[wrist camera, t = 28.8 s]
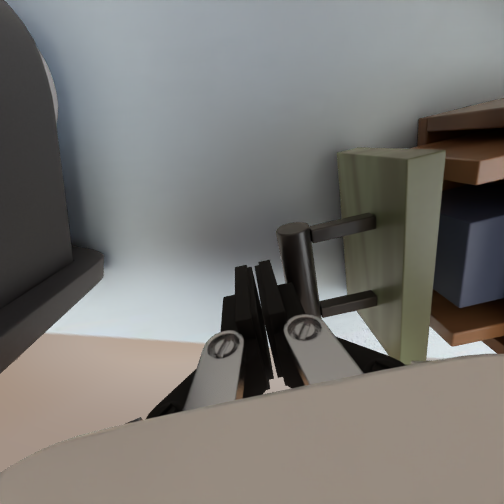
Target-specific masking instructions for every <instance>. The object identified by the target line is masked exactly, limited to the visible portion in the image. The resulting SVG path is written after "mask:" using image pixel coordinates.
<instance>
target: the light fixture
mask: <svg viewBox="0 0 504 504" xmlns="http://www.w3.org/2000/svg"><path fill="white" fill-rule="evenodd" d="M57 119H58V99H57V93H56V89H55V85H54V81H53V78H52V75H51V73H50V70H49V68H48V66H47V64H46V62H45V60H44V58H43V56H42V55H41V53H40V51H39V50H38V48H37V46H36V44H35V42H34V39H33V38H32V36H31V35H30V33H29V31H28V30H27V28H26V26H25V25H24V23H23V22H22V20H21V19H20V18H19V17H18V15H17V14H16V13H15V12H14V11H13V9H12V8H11V7H10V6H9V5H8V3H7V2H5V1H4V0H0V373H1V372H3V371H4V370H5V369H6V368H7V367H8V366H9V365H10V364H11V363H12V362H14V361H15V360H16V359H17V358H18V357H19V356H20V355H21V354H22V353H23V352H24V351H25V350H26V349H27V348H28V347H30V346H31V345H32V344H33V343H34V342H35V341H36V340H37V339H38V338H39V337H40V336H41V335H43V334H44V333H45V332H46V331H47V330H48V329H49V328H50V327H51V326H52V325H53V324H54V323H56V322H57V321H58V320H59V319H60V318H61V317H62V316H63V315H64V314H65V313H66V312H67V311H69V310H70V309H71V308H72V307H73V306H74V305H75V304H76V303H77V302H78V301H79V300H80V299H81V298H83V297H84V296H85V295H86V294H87V293H88V292H89V291H90V290H91V289H92V288H93V287H94V286H95V285H96V284H97V283H98V282H99V281H100V280H101V279H102V278H103V276H104V255H103V254H102V253H101V252H99V251H96V250H93V249H87V248H81V247H75V246H71V238H70V230H69V221H68V213H67V205H66V197H65V189H64V182H63V174H62V166H61V158H60V150H59V142H58V134H57V126H56V125H57Z"/></svg>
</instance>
